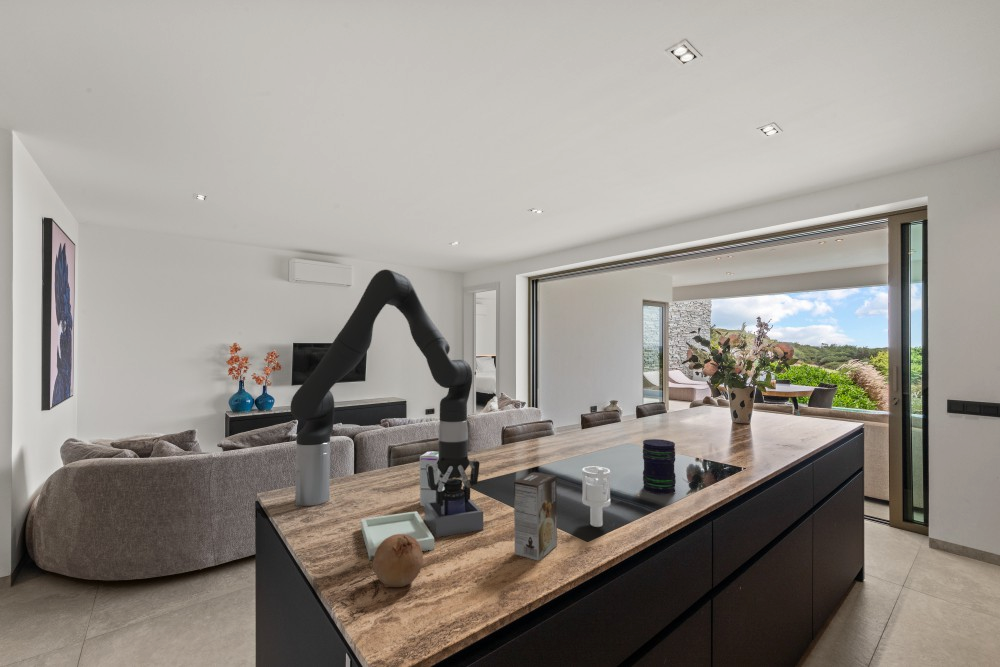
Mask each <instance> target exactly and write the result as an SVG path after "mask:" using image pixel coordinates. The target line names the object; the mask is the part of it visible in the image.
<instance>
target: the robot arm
mask: <svg viewBox="0 0 1000 667" xmlns="http://www.w3.org/2000/svg"><path fill="white" fill-rule="evenodd" d="M386 305H389V306H392V307H395V308H396V309H397V310H398V311H399V313H401V314H402V315H403V317H404V318H405V319H406V322H407V323H408V327H409V330H410V335H411V338H412V339H413V341H414V344H415V345H416V346H417V348H418V350H420V352H421V353H422V355H423V356H424V357H425V358H426V359H425V360H426V362H427V366H428V368H429V371H430V373H431V376H432V379H433V380H434V382H435V383H437V385H439V386H440V387H441V388H444V389H448V390H447V394H446V395H445V396H444V397H442V398H441V400H440V402H439V424H438V448H437V450H438V451H437V452H438V457H439V458H438V461H437V464H432V465H430V464H427V465H426V471H427V480H428V486H429V487H430V489H431V490H436V503H437V504H438V505H439V506H443V491H442V489H443V487H444V484H445V483H446V482H447V480H448V479H460V480H462V490H464V492H465V503H467V502H468V500H470V499H471V488H472V487H473V486H475V485H478V481H479V480H478V479H479V473H480V464H481V463H480V461H478V460H477V459H472V460H471V459H470V460H469V454H468V453H469V450H468V449H469V448H468V447H469V427H468V401H469V398H470V393H471V389H472V383H473V371H472V368H471V365H470V364H469V362H468V361H466V360H464V359H451V358H450V357H449V356H448V355H449V352H450V345H449V343H448V341H447V340H446V338H445V337H444V336H443V334H442V333H441V332H440V330H439V329H438V328H437V326H436V325H435V323H434V322H433V321H432V319H431V317H430V316H429V314H428V312H427V311H426V310H425V309H426V308H424V306H423V304H422V302H421V299H420V298H419V296H418V293H417V291H416V290H415V288H414V285H413V284H412V282H411V280H410V279H408V278H407V276H405V275H402V274H401V273H398V272H396V271H393V270H390V269H385V268H384V269H381V270H379V271H378V272H376V273H375V274H374V275H373V277H371V279H370V281H369V283H368V284H367V286H366V288H365V290H364V292H363V293H362V296H361V298H360V300H359V302H358V304H357V305H356V306H355V308H354V310H353V312H352V313H351V315H350V317H348V320H347V321H346V323H345V324H344V326H343V328H342V329H341V330H340V331H339V333H338V334H337V336H336V337H335V339H334V340H333V341H332V343H331V345H330V346H329V347H328V350H327V351H326V352H325V354H324V355H323V357H322V358H321V360H320V361H319V363H318V364H317V366H315V369H314V370H313V371H312V372H311V374H310V375H309V377H308V378H307V379H306V380H305V381H304V382H303V384H302V385H300V387H299V389H297V391H295V393H294V395H293V396H292V398H291V401H290V412H291V415H292V417H294V419H296V420H298V421H304V422H305V421H306V423H305V424H304V426H303V427H302V429H301V430H300V431H299V432H298V433H297V434H296V451H295V453H296V454H295V456H296V457H295V458H296V459H295V460H296V462H295V497H294V499H295V504H294V505H295V507H297V506H303V507H304V506H306V507H307V506H309V507H310V506H316V505H321V504H325V503H326V502H329V500H330V491H331V490H330V484H331V483H330V482H331V481H330V479H331V477H330V476H331V435H332V433H333V429H334V423H335V422H334V420H335V419H334V418H335V398H334V395H333V393H332V391H331V389H332V387H333V386H334V385H335V384H336V383H337V382H339V381H340V380H342V379H343V378H344V377H345V376H347V375H348V374H349V373H350V372H351V371H352V370H353V369H355V368H356V367H357V365H358V364H359V363H360V362H361V360H362V359H363V358H364V356H365V355H366V353H367V352H368V350H369V348H370V347H371V344H372V339H373V330H374V324H375V323H376V322H375V321H376V319H377V317H378V316H379V314H380V313H381V311H382V310H383V308H384V307H385V306H386ZM468 467H469V468H470V477H469V478H470V479H469V478H468V474H466V470H467V469H468ZM437 468H438V469H439V470H440V472H441V473H440V475H439V477H438V481H437V483H436V484H435V481H434V473H435V472H436V469H437Z"/></svg>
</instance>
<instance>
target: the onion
mask: <svg viewBox="0 0 1000 667" xmlns="http://www.w3.org/2000/svg"><path fill="white" fill-rule="evenodd" d="M423 553H424V552H422V549H421V546H420V545H419V543H418V542H417V541H416V540H415V539H414V538H412V537H411V536H409V535H405V534H396V535H392V536H390V537H388V538H386V539H385V540H384V541H383V542H382V543H381V544H380V545H379V547H378V548H377V550H376V552H375V555H374V559H373V561H372V566H373V568H372V570H373V572H374V573H375V575H376V577H377V579H378V581H380V582H381V583H383V586H384V587H385V588H403V587H405V586H407V585H410V584H411V583H413V582H414V580H415V579H416V578H417V577H418V576H419V574H420V572H421V569H422V566H423V562H424V554H423Z"/></svg>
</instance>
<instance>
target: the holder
mask: <svg viewBox="0 0 1000 667" xmlns="http://www.w3.org/2000/svg"><path fill="white" fill-rule="evenodd" d="M423 507H424V514H423V515H424V516H423V518H424V520H423V521H424V522H425V524H426V525H427V527H428V528H429V527H430V528H429V530H430V531H431V530H432V531H431V533H432V534H433V533H434V534H433V536H434V537H435V536H436V537H437V538H442V537H441V536H443V537H448V535H449V536H454V534H455V535H460V533H461V534H465V533H472V531H473V532H478V530H479V531H484V510H482V509H481V508H480V507H479V505H477V504H476V503H475V501H473V500H472V499H471V498H470V500H468V502H467V503H465V513H460V514H453V515H446V516H441V506H439V505H438V504H437V503H436V501H432V502H425V506H423ZM436 537H435V538H436Z"/></svg>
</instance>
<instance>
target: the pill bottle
mask: <svg viewBox="0 0 1000 667" xmlns="http://www.w3.org/2000/svg"><path fill="white" fill-rule="evenodd" d="M444 487H445V490H443V506H441V516H446V515H453V514H460V513H465V492H464V490H463V482H462V480H461V478H452V479H448V480H447V482H446V483H445V484H444Z"/></svg>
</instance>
